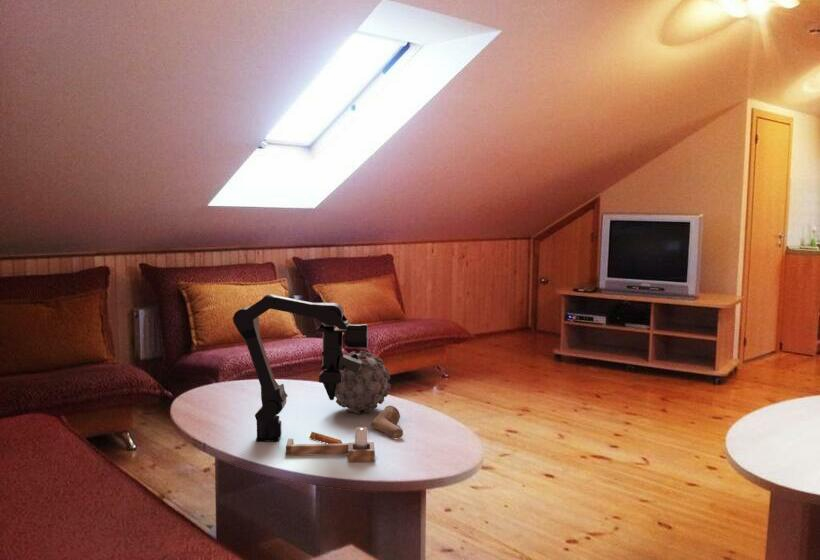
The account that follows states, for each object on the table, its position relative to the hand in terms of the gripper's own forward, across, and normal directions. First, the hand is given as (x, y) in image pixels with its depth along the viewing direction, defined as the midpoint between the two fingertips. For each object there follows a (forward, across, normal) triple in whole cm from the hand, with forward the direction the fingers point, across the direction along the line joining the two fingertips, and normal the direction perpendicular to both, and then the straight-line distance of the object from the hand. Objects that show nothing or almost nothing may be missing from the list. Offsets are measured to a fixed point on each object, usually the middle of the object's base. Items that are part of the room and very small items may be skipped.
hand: (331, 399), depth 207 cm
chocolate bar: (+12, -2, +1) cm, 13 cm away
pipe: (+12, +8, -18) cm, 23 cm away
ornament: (+12, +29, -8) cm, 32 cm away
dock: (+12, -13, -1) cm, 18 cm away
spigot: (+12, -16, -9) cm, 22 cm away
